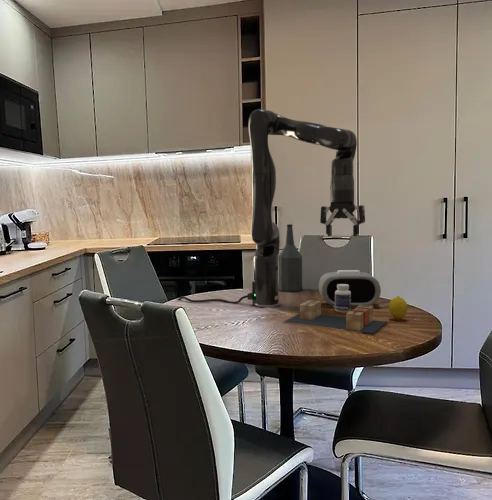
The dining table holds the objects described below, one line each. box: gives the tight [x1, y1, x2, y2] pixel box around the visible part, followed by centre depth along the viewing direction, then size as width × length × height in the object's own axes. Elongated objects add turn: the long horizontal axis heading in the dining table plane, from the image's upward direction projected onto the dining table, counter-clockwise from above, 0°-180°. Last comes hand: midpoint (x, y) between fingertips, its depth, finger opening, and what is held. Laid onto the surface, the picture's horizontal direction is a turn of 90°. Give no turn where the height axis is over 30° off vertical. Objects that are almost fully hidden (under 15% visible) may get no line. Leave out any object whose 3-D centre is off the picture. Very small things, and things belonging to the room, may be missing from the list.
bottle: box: [278, 223, 303, 293], centre depth 219 cm, size 10×10×30 cm
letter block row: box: [345, 305, 374, 332], centre depth 156 cm, size 4×15×5 cm, turn 140°
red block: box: [351, 308, 369, 327], centre depth 156 cm, size 4×4×5 cm
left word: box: [299, 299, 322, 320], centre depth 169 cm, size 4×9×5 cm, turn 140°
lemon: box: [388, 296, 409, 321], centre depth 161 cm, size 6×6×8 cm
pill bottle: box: [334, 284, 352, 314], centre depth 176 cm, size 5×5×10 cm
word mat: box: [284, 313, 388, 335], centre depth 161 cm, size 28×16×1 cm, turn 50°
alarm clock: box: [318, 269, 382, 309], centre depth 184 cm, size 21×10×13 cm, turn 76°
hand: (342, 236), depth 168 cm, fingers open, 8 cm apart
